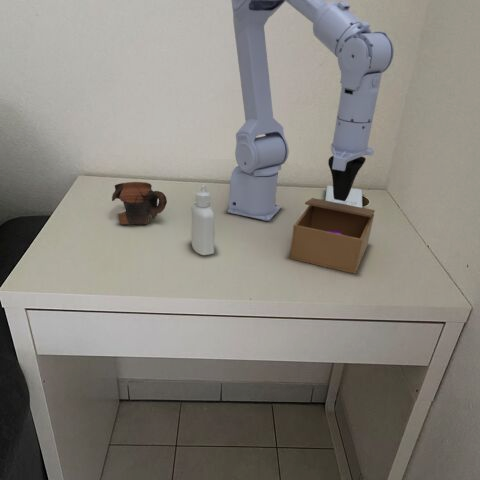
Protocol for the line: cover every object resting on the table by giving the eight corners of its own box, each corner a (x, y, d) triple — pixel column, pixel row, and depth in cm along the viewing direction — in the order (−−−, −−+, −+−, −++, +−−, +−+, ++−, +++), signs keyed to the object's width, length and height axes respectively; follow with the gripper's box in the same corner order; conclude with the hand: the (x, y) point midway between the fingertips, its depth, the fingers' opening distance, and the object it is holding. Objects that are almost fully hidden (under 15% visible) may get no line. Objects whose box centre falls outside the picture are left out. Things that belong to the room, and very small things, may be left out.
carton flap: (312, 200, 94) (312, 197, 94) (374, 212, 91) (374, 210, 91) (304, 204, 89) (305, 202, 89) (370, 217, 86) (371, 215, 86)
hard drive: (360, 195, 117) (361, 216, 107) (326, 191, 118) (323, 211, 108) (362, 189, 116) (362, 209, 106) (327, 185, 117) (324, 204, 107)
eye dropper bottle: (215, 242, 93) (217, 180, 86) (213, 256, 88) (215, 192, 81) (192, 241, 93) (192, 179, 86) (189, 255, 88) (188, 190, 81)
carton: (307, 232, 98) (311, 201, 95) (367, 245, 95) (374, 214, 91) (289, 258, 89) (293, 225, 85) (355, 273, 86) (362, 240, 82)
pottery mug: (104, 226, 97) (100, 183, 96) (129, 229, 106) (126, 190, 105) (159, 220, 93) (155, 176, 92) (180, 224, 102) (177, 183, 101)
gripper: (371, 132, 73) (354, 218, 81) (386, 112, 84) (369, 189, 92) (325, 125, 75) (312, 209, 83) (345, 107, 86) (332, 183, 94)
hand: (340, 198), depth 87 cm, fingers closed
